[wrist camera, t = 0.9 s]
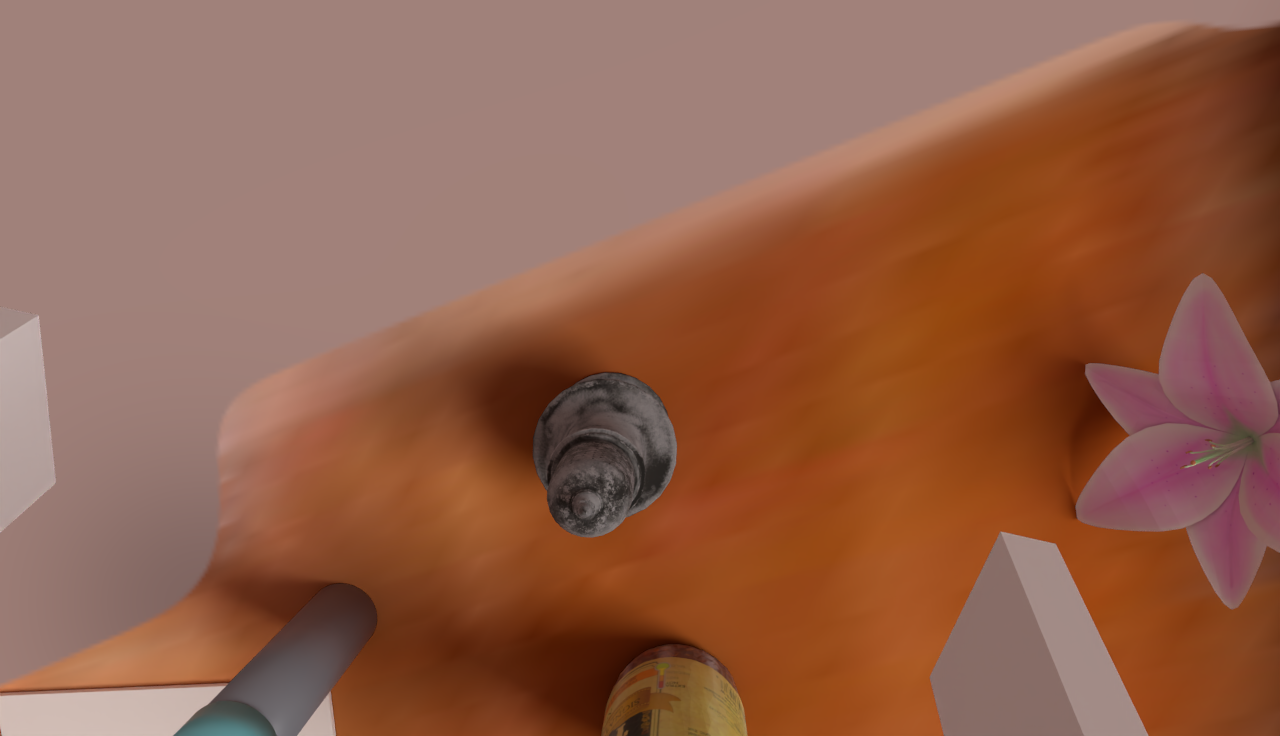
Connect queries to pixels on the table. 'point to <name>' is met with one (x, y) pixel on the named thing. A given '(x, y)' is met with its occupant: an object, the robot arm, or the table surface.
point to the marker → (291, 669)
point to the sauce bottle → (674, 696)
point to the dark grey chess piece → (603, 452)
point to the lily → (1195, 444)
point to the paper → (122, 711)
